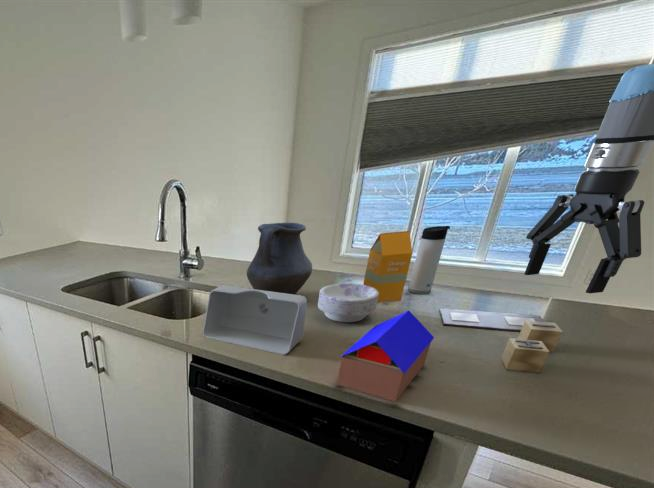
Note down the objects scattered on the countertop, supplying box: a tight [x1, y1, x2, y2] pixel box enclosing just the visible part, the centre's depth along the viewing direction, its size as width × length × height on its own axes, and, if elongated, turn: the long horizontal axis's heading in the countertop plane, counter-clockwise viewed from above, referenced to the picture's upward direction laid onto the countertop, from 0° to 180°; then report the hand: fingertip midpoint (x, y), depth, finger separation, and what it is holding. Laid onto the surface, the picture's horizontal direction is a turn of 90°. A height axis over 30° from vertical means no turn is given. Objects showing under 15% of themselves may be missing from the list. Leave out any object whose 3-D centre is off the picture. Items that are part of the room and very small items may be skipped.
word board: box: [438, 307, 545, 333], centre depth 106 cm, size 22×12×1 cm, turn 62°
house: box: [336, 310, 435, 402], centre depth 85 cm, size 12×20×12 cm, turn 135°
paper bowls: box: [317, 282, 379, 323], centre depth 115 cm, size 15×15×8 cm
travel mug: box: [407, 225, 451, 295], centre depth 125 cm, size 6×7×20 cm
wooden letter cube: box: [500, 337, 550, 374], centre depth 85 cm, size 5×5×5 cm
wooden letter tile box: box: [517, 321, 564, 353], centre depth 92 cm, size 5×5×5 cm
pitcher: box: [246, 222, 313, 295], centre depth 129 cm, size 21×22×25 cm
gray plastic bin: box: [202, 284, 308, 356], centre depth 109 cm, size 25×16×12 cm, turn 51°
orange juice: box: [362, 230, 413, 303], centre depth 123 cm, size 8×9×20 cm
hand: (560, 282), depth 84 cm, fingers open, 13 cm apart
